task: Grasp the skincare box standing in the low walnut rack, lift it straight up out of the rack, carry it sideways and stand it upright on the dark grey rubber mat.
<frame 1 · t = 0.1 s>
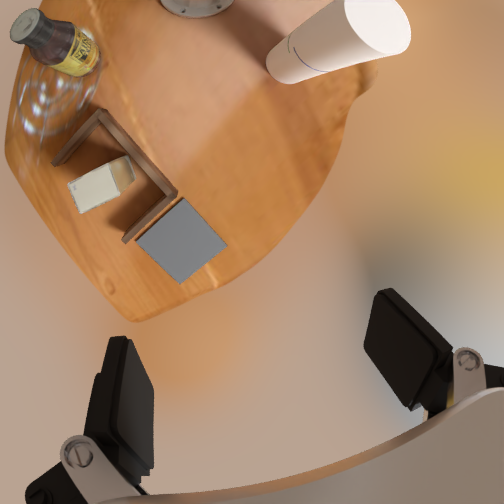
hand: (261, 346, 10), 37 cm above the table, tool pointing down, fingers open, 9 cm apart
cylindrical container: (287, 64, 38), on the table
grey rubber mat: (181, 243, 47), on the table
skincare box: (116, 173, 40), on the table
sauce bottle: (85, 60, 30), on the table
walnut rack: (116, 173, 40), on the table
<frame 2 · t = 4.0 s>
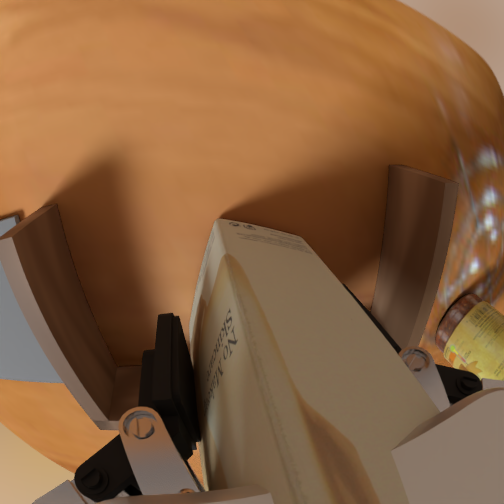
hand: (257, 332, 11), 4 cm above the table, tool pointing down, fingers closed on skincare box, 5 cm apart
skincare box: (240, 283, 14), on the table, touching gripper
sauce bottle: (454, 318, 21), on the table
walnut rack: (241, 286, 14), on the table
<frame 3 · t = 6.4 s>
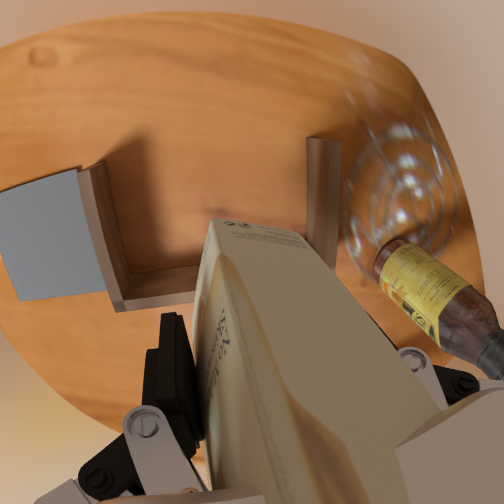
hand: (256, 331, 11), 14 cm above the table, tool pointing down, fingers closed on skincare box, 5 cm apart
grey rubber mat: (41, 242, 20), on the table
skincare box: (240, 282, 14), point 10 cm above the table, touching gripper
sauce bottle: (391, 261, 30), on the table
walnut rack: (213, 212, 23), on the table
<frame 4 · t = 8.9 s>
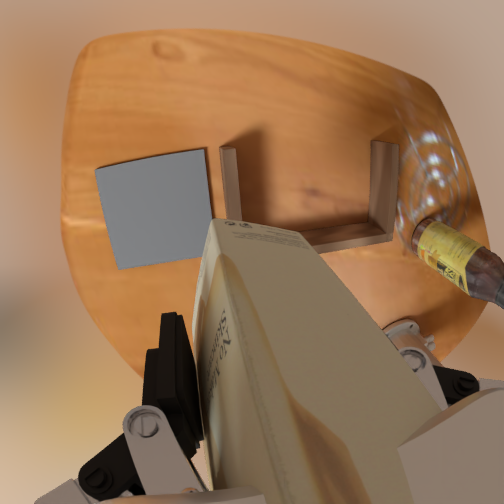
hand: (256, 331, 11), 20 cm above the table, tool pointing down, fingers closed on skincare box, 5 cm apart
grey rubber mat: (156, 211, 27), on the table
skincare box: (240, 282, 14), point 16 cm above the table, touching gripper
sauce bottle: (423, 236, 36), on the table
walnut rack: (308, 191, 30), on the table
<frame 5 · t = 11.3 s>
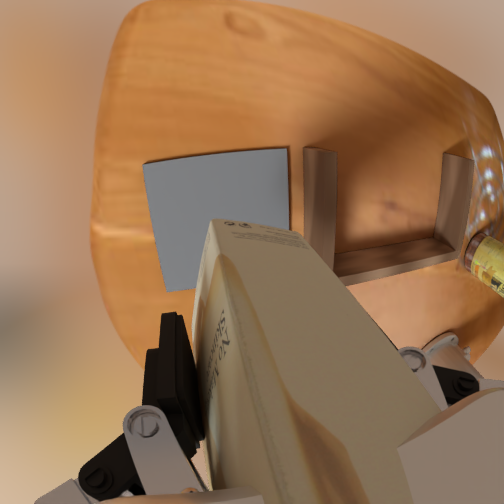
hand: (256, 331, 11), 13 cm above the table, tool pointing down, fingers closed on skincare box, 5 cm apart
grey rubber mat: (221, 222, 23), on the table
skincare box: (240, 282, 14), point 10 cm above the table, touching gripper
sauce bottle: (473, 250, 32), on the table
walnut rack: (387, 204, 25), on the table
when the fingers open (4 cm above the table, at t = 13.6 s): skincare box stays where it is, resting on grey rubber mat.
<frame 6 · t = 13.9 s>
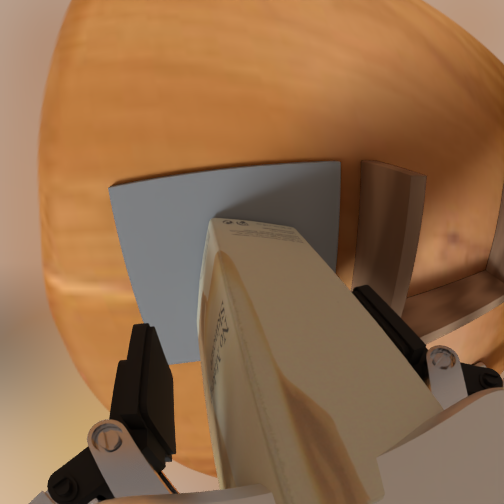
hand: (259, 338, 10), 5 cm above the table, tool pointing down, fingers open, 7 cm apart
grey rubber mat: (237, 274, 15), on the table
skincare box: (241, 277, 15), resting on grey rubber mat
walnut rack: (450, 236, 17), on the table
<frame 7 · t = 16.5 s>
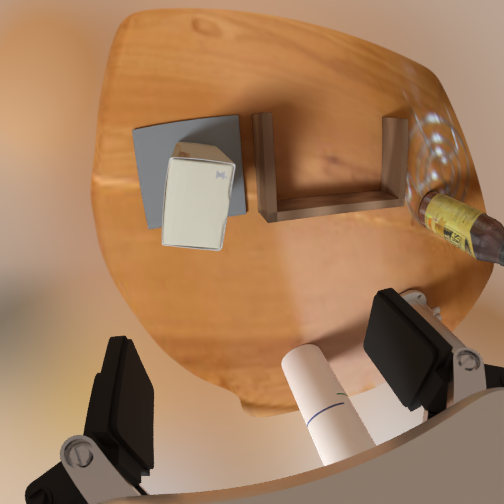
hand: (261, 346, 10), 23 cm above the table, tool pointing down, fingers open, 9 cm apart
cylindrical container: (301, 358, 45), on the table
grey rubber mat: (190, 171, 29), on the table
skincare box: (192, 172, 29), resting on grey rubber mat
sauce bottle: (429, 208, 38), on the table
walnut rack: (329, 158, 31), on the table
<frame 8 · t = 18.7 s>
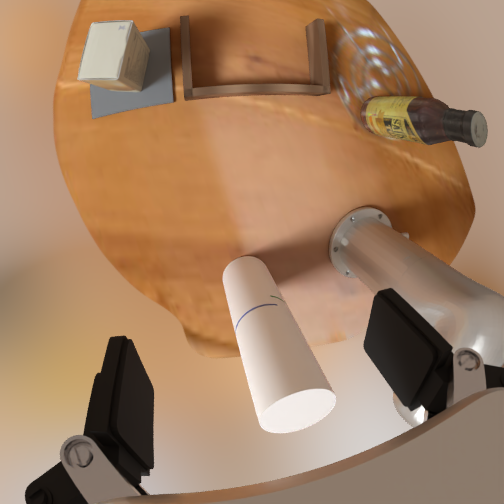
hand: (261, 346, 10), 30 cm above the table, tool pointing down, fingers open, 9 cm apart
cylindrical container: (245, 276, 44), on the table
grey rubber mat: (129, 71, 28), on the table
skincare box: (130, 71, 28), resting on grey rubber mat
sauce bottle: (374, 116, 37), on the table
walnut rack: (251, 57, 31), on the table
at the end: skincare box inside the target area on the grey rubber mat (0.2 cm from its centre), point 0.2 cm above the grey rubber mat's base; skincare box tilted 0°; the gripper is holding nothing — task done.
